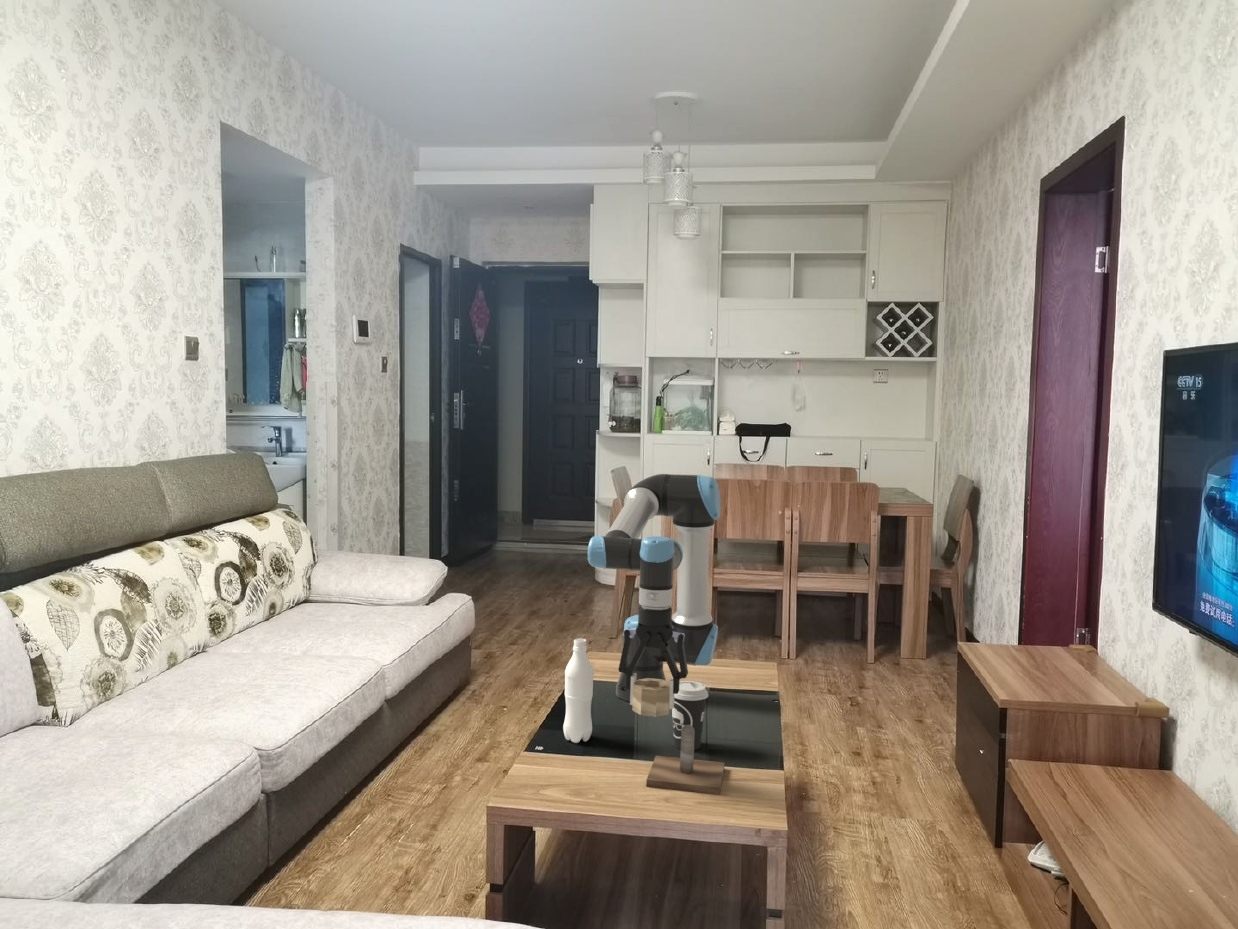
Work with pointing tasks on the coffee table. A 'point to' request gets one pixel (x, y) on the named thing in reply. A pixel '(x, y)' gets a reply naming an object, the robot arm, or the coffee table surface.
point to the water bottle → (578, 694)
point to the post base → (686, 781)
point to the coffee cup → (689, 710)
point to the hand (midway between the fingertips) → (652, 705)
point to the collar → (651, 697)
